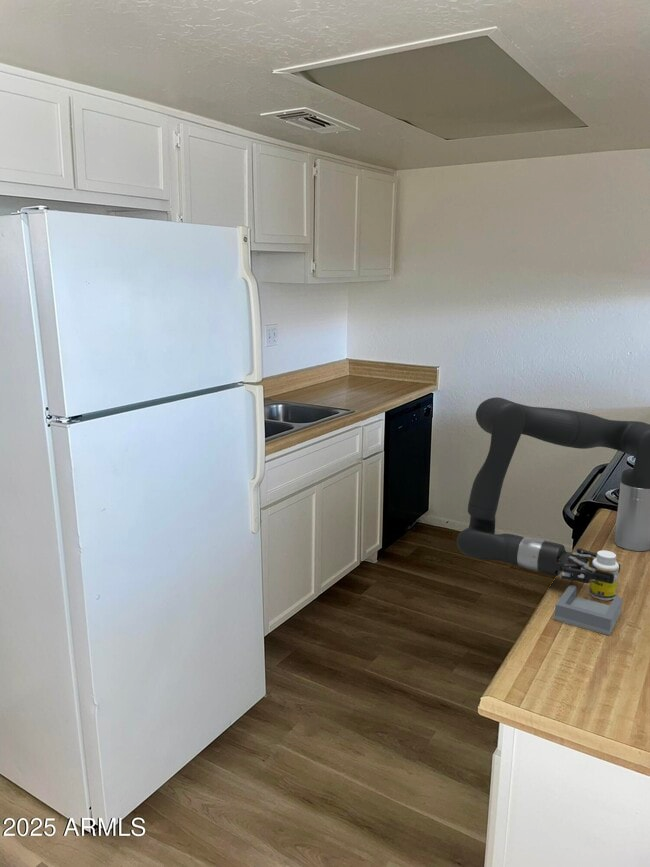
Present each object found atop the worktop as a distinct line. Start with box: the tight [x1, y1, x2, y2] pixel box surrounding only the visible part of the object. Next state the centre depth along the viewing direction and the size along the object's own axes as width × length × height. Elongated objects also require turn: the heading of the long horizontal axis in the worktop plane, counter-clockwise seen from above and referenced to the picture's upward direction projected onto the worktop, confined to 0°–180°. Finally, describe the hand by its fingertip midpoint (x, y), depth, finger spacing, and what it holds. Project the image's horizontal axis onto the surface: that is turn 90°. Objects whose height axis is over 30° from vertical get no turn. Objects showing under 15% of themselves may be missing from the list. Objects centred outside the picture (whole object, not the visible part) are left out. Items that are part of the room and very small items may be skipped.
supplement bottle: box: [588, 550, 620, 601], centre depth 148 cm, size 6×6×10 cm
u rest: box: [553, 584, 623, 636], centre depth 140 cm, size 11×11×4 cm
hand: (616, 573), depth 147 cm, fingers closed on supplement bottle, 5 cm apart
